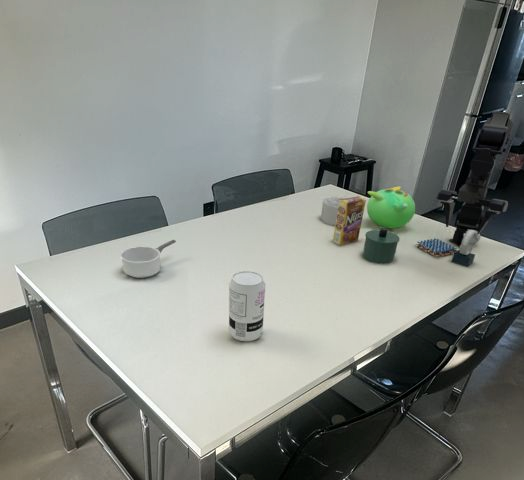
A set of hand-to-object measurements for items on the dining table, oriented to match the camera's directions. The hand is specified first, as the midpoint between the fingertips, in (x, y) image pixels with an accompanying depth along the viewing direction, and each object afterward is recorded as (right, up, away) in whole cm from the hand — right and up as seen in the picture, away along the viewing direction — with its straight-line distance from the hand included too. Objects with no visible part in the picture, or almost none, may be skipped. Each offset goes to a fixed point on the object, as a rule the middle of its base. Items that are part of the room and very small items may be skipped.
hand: (462, 230), depth 137 cm
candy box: (-30, +3, +27) cm, 41 cm away
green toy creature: (-11, +12, +42) cm, 46 cm away
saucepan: (-93, -11, +3) cm, 94 cm away
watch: (+7, -6, +17) cm, 20 cm away
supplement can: (-64, -32, -24) cm, 75 cm away
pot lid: (-21, +1, +13) cm, 24 cm away
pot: (-21, -5, +17) cm, 27 cm away
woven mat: (+1, -1, +25) cm, 25 cm away
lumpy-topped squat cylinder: (-31, +15, +45) cm, 56 cm away
